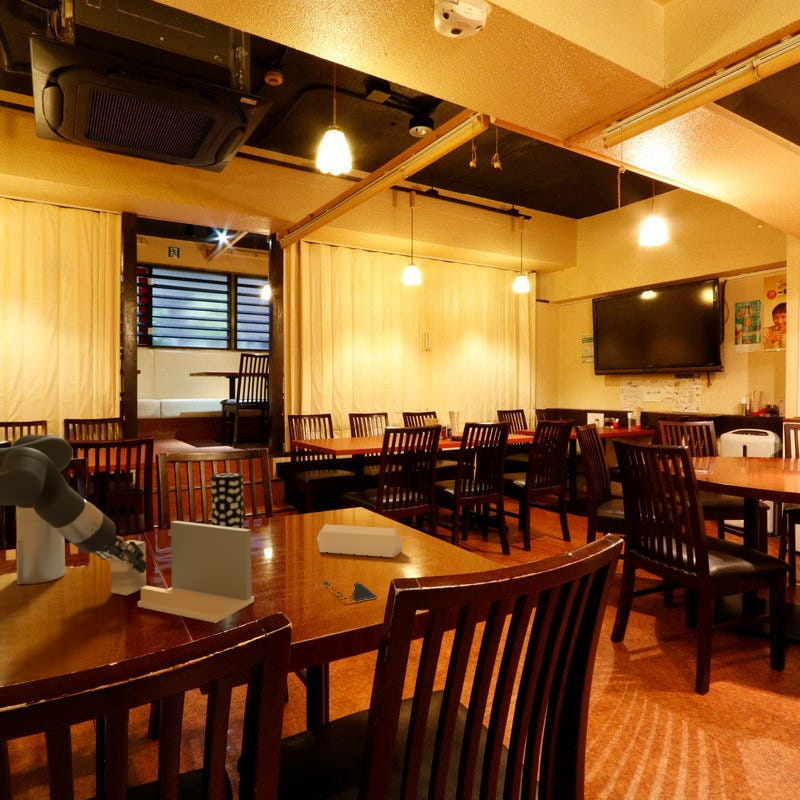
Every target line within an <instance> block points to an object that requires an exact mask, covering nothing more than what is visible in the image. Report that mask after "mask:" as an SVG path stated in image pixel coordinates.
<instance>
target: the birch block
mask: <svg viewBox="0 0 800 800" xmlns="http://www.w3.org/2000/svg"><path fill="white" fill-rule="evenodd" d="M124 541H125V540H124ZM130 541H132V542H135V543H136V545H137V546H138V547H139V548H140V550H141V551H142V552H143V553H144V556H143V557H142V559H143V560H144V561H145V562H146V563H147V560H146V559H147V554H146V551H147V550H146V548H147V547H146V546H147V545H146V544H147V543H146V542H145V541H142V540H141V541H140V540H135V539H133V540H132V539H130V540H126V541H125V542H126V543H128V544H129V543H130ZM123 552H124V550H123ZM123 552H122V553H121V555H122V554H123ZM121 555H119V556H120V557H121ZM127 558H128V557H127ZM128 559H129V558H128ZM110 581H111V582H110V584H111V587H110V589H111V590H110V591H111V593H113V594H116V595H117V594H118V595H121V596H128V595H131V594H133V593H134V594H135V593H137V592H139V591H141V588H142V587H144V586H147V569H146V570H145V572H144V573H140V572H138V571H137V570H136V569H135V568H133V567H132V566H131V565H129V564H128V563H126V562H125V561H118V560H117V559H115V558H114V557H112V559H111V562H110Z"/></svg>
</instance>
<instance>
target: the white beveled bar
mask: <svg viewBox="0 0 800 800" xmlns="http://www.w3.org/2000/svg"><path fill="white" fill-rule="evenodd" d="M316 539H317V544H318V548H319V552H320V553H326V552H328V553H330V554H340V553H342V555H353V554H355V556H356V555H357V556H367V555H368V556H370V557H380V556H382V558H384V557H385V558H394V557H393V556H395V557H397V556H398V554H400V553H401V552H402V551H403V549H404V548H403V547H404V541H403V539H402V536H401V535H400V533H399V531H398V530H397V529H396V528H392V527H377V526H375V527H374V526H373V527H372V526H360V525H359V526H357V525H345V524H344V525H343V524H324V526H323V527H322V528H321V529H320V531H319V533H318V535H317V537H316ZM328 553H327V554H328Z"/></svg>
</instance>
